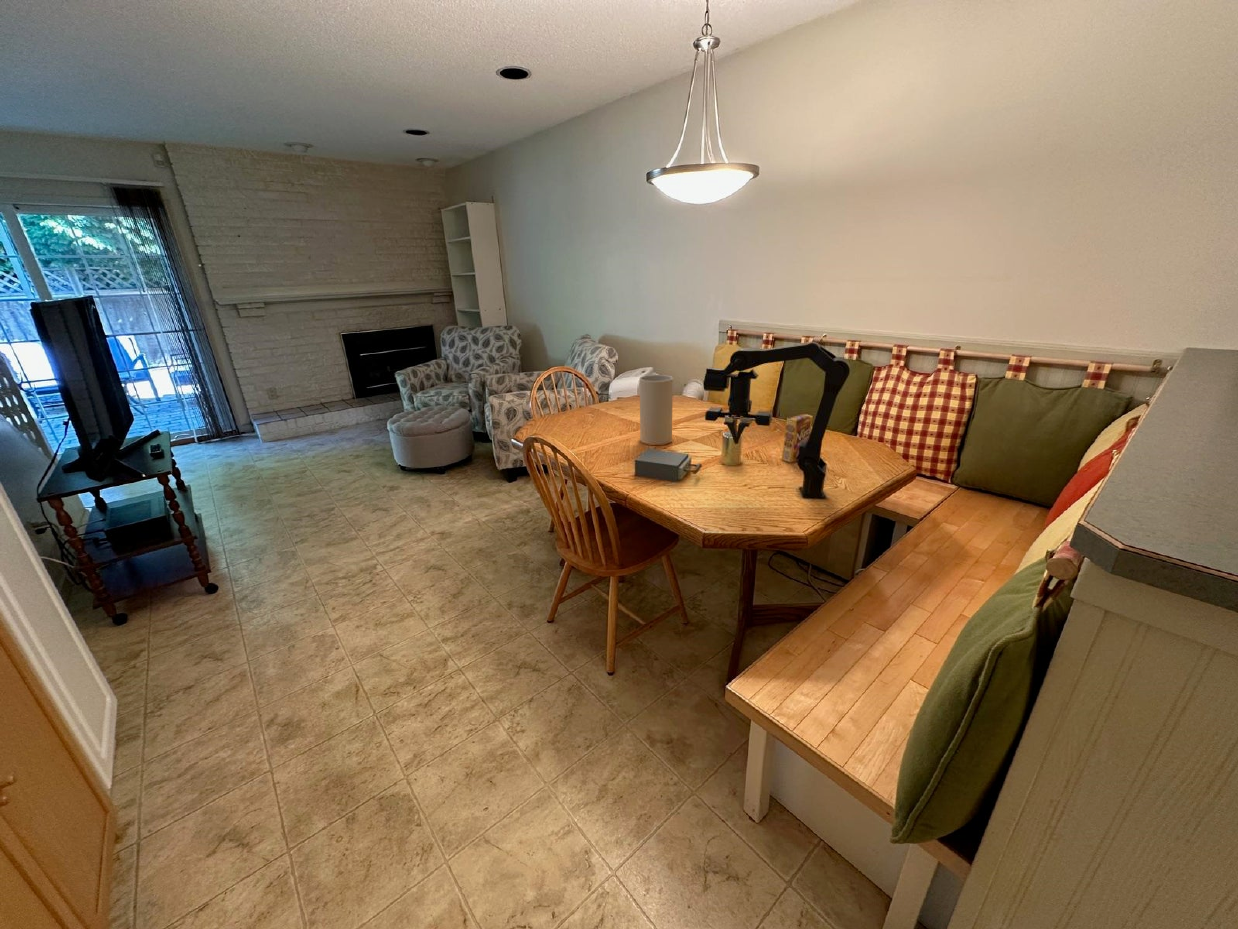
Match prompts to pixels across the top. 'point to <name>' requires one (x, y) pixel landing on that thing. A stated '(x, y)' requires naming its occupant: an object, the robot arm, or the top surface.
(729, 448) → the metal can
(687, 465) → the drawer
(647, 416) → the cylinder vase
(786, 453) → the candy box
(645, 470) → the cabinet
